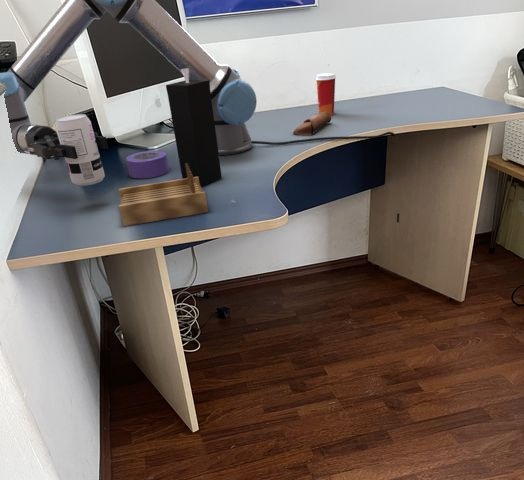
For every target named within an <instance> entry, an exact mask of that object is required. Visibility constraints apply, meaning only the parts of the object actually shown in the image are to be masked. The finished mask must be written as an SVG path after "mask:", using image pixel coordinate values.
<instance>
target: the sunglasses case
mask: <svg viewBox="0 0 524 480" xmlns="http://www.w3.org/2000/svg"><path fill="white" fill-rule="evenodd" d="M331 121H332V115H330V114H329V113H328V112H321V113H319V112H318V113H315V114H314V115H312V116H310V117H307V118H306V119H305V120H303V122H302V123H301V124H300V125H298V126H297V127H296V128H295V129H294V130H293V131H292V134H294V135H299V136H312V135H313V134H314V133H316V132H317V131H318V130H319V129H320V128H321V127H323V126H324V125H326V124H329V123H331Z"/></svg>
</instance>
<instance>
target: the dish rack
mask: <svg viewBox="0 0 524 480" xmlns="http://www.w3.org/2000/svg"><path fill="white" fill-rule="evenodd" d="M185 167H186V172H187V178H184V179H182V178H179V179H173V180H167V181H160V182H154V183H146V184H141V185H135V186H128V187H121V188H118V193H119V197H120V204H119V205H118V209H119V213H120V217H121V221H122V225H123V227H128V226H133V225H134V226H135V225H141V224H146V223H152V222H158V221H165V220H171V219H175V218H176V219H177V218H182V217H188V216H194V215H200V214H207V213H209V206H208V199H207V193H206V191H203V189H202V186H200V184H199V177H198V176H197V177H193V174H192V173H191V171H190V169H189V166H188V163H186V164H185Z"/></svg>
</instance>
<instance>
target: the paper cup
mask: <svg viewBox="0 0 524 480" xmlns="http://www.w3.org/2000/svg"><path fill="white" fill-rule="evenodd" d="M336 79H337V77H336V74H335V73H334V72H324V73H318V74H316V78H315V81H316V93H317V104H318V105H317V106H318V113H321V112H328V113H329V114H330V115H331V116H333V115H334V113H335V99H336V98H335V95H336Z"/></svg>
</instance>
